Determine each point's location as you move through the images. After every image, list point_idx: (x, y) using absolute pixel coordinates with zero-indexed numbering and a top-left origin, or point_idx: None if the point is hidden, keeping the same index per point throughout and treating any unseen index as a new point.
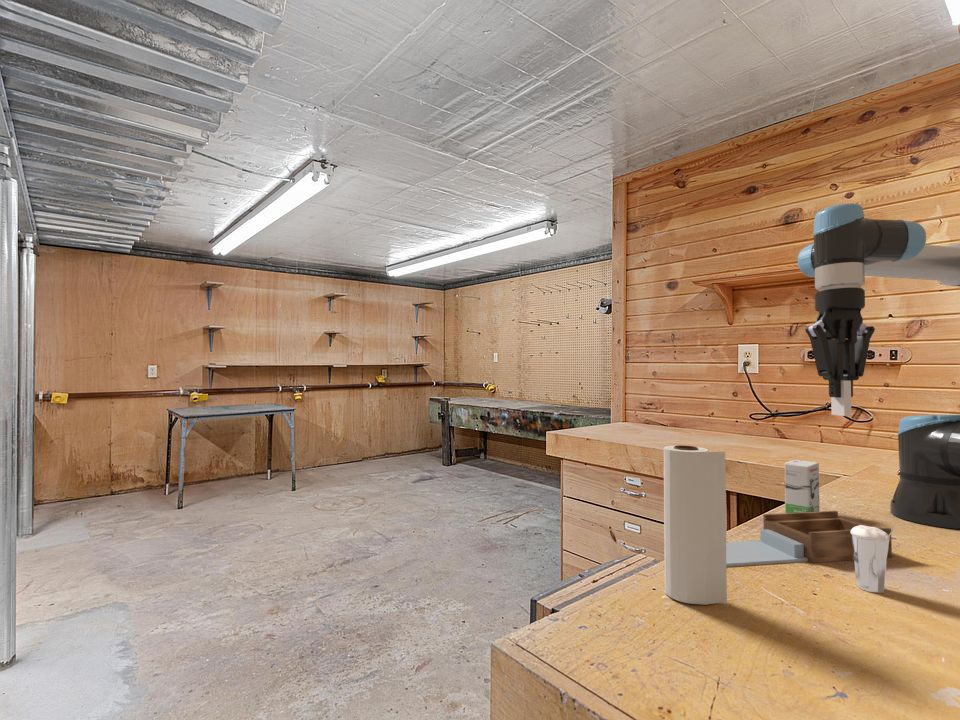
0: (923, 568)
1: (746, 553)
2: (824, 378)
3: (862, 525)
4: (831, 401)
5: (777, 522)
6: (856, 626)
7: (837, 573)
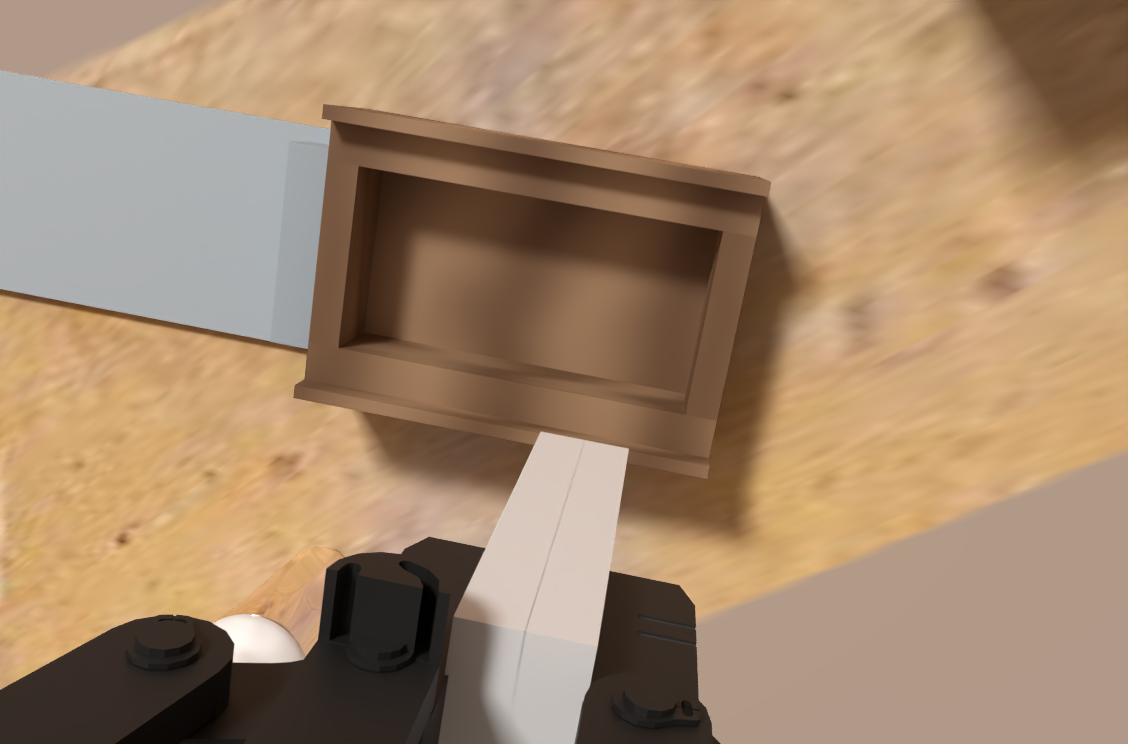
0: (691, 545)
1: (141, 234)
2: (348, 577)
3: (239, 659)
4: (514, 487)
5: (362, 165)
6: None
7: (338, 465)
